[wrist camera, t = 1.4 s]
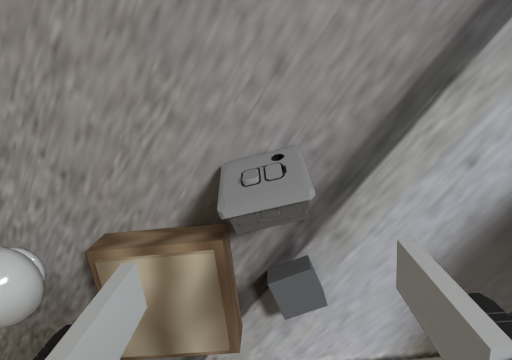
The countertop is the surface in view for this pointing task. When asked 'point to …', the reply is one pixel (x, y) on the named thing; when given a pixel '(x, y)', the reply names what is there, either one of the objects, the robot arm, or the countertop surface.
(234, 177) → the electrical switch
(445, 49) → the countertop surface
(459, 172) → the countertop surface
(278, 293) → the rubber block
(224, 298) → the wooden box
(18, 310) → the flower vase
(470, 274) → the countertop surface
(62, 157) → the countertop surface
